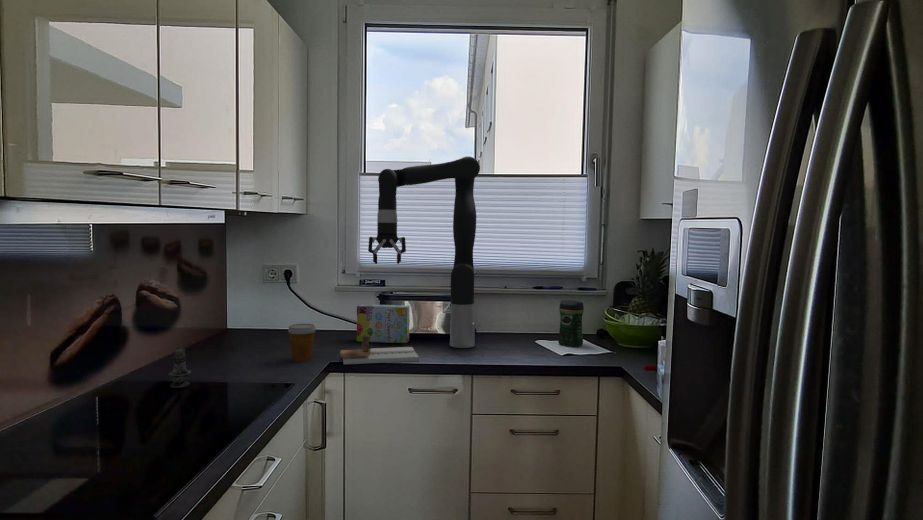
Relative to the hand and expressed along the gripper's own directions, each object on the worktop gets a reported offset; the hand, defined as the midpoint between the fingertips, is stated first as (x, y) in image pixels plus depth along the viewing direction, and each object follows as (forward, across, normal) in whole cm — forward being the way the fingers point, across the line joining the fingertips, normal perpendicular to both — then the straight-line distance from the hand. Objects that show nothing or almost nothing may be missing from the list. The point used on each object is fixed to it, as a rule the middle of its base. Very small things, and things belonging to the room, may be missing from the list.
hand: (387, 263), depth 201 cm
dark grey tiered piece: (+33, +64, +36) cm, 81 cm away
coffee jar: (+34, -75, +8) cm, 82 cm away
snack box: (+33, 0, -12) cm, 35 cm away
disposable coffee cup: (+33, +31, +13) cm, 47 cm away
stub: (+30, +13, +19) cm, 38 cm away
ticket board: (+33, +4, +16) cm, 37 cm away
